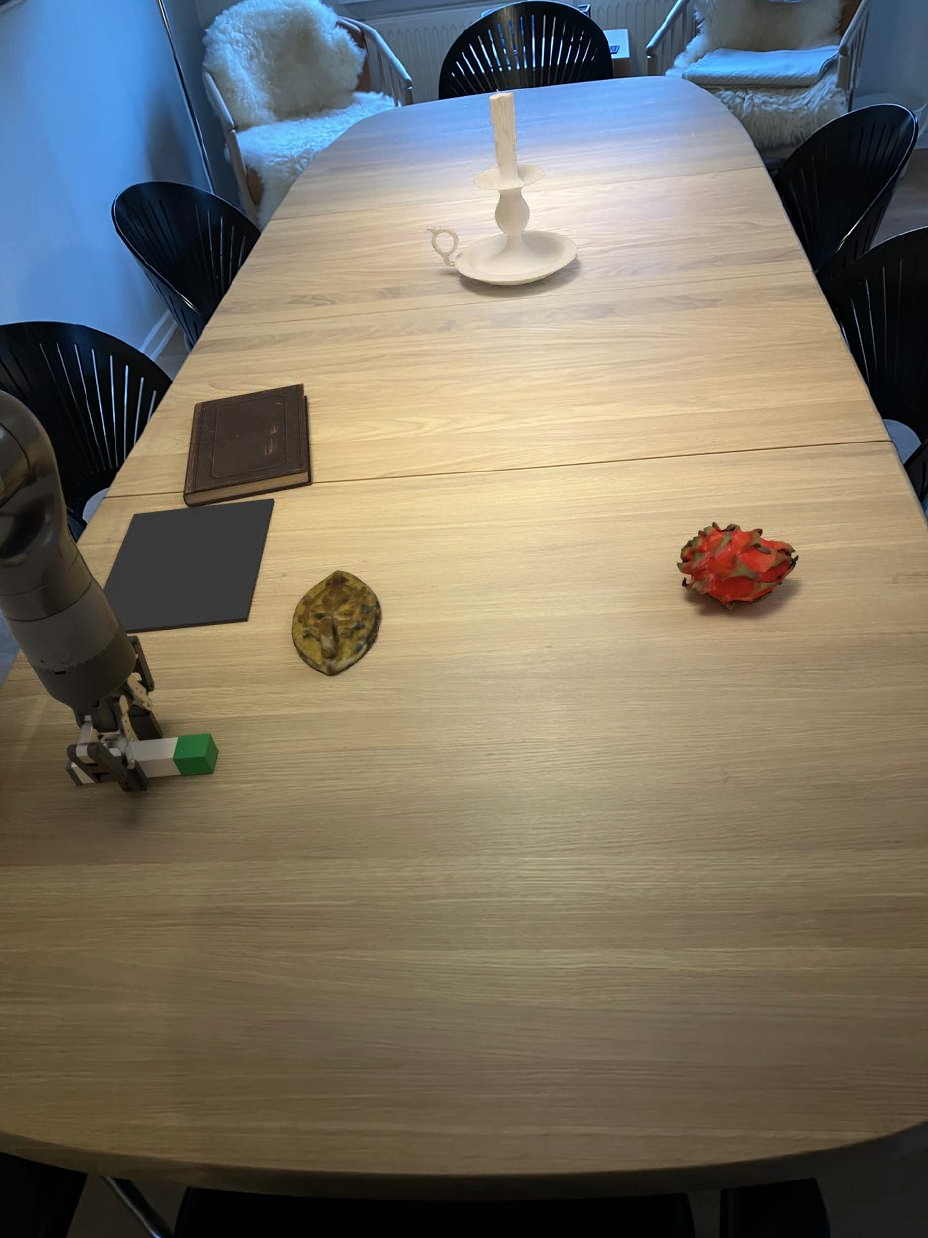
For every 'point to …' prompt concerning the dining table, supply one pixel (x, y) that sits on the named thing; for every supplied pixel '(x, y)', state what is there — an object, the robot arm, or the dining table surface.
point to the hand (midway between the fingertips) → (145, 763)
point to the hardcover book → (248, 446)
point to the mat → (189, 566)
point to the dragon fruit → (735, 564)
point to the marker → (165, 757)
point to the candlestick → (509, 217)
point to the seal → (335, 622)
